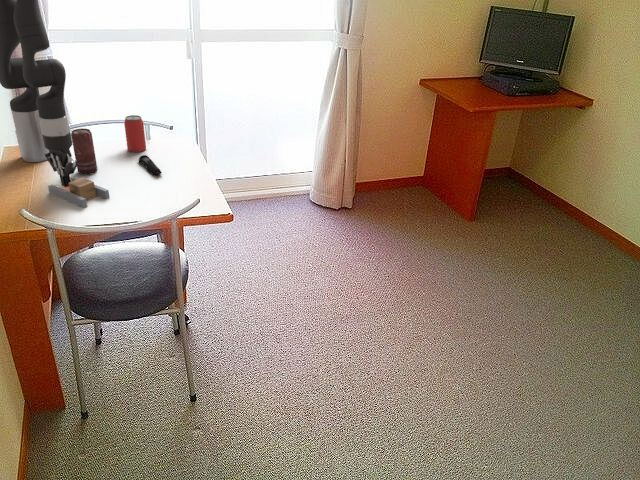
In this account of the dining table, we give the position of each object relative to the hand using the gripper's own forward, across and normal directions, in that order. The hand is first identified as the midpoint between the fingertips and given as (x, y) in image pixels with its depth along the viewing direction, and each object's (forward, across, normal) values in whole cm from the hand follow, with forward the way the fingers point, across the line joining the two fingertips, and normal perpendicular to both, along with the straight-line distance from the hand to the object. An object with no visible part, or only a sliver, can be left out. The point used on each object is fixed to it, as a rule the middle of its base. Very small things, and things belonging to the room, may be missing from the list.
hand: (66, 185), depth 165 cm
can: (+2, -8, +13) cm, 15 cm away
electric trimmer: (+2, +6, +28) cm, 29 cm away
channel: (+2, +6, 0) cm, 6 cm away
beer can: (+2, -12, +37) cm, 39 cm away
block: (+2, +8, 0) cm, 8 cm away
